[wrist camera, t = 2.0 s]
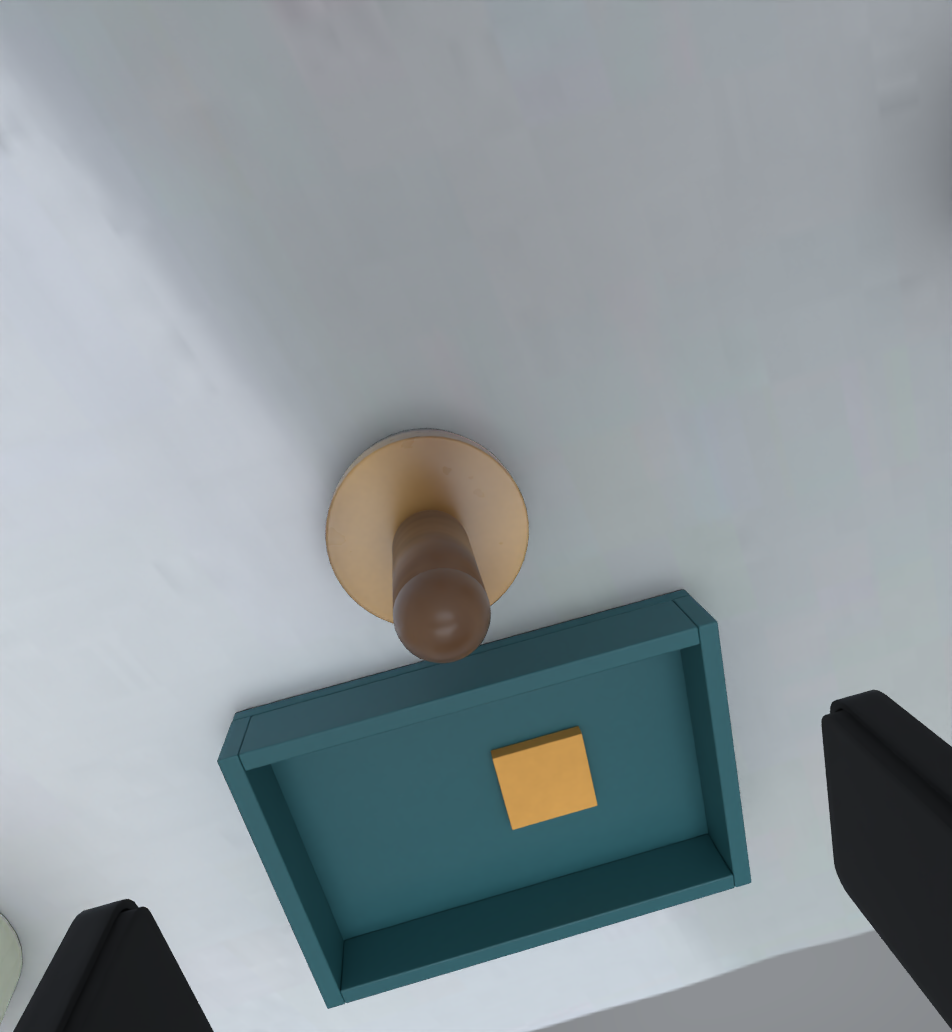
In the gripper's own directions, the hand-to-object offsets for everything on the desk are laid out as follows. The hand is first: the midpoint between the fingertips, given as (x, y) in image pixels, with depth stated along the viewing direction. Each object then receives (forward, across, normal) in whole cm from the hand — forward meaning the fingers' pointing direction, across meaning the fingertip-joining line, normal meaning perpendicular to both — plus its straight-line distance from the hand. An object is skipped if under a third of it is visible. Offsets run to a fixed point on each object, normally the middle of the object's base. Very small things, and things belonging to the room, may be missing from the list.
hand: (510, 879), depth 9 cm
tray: (+18, +1, +13) cm, 22 cm away
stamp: (+18, +1, 0) cm, 18 cm away
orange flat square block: (+18, -1, +13) cm, 22 cm away
